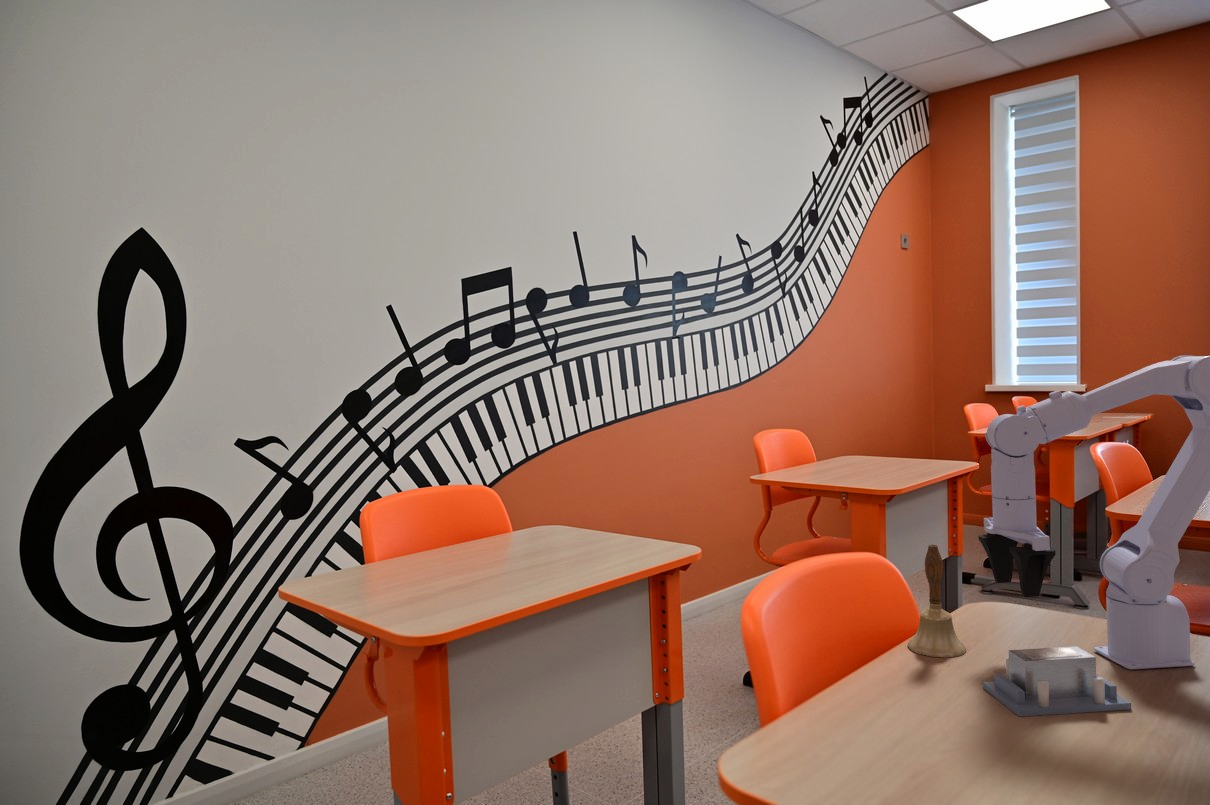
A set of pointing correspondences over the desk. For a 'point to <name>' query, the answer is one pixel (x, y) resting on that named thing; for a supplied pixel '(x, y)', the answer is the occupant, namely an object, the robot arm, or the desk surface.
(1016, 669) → the block
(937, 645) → the hand bell
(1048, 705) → the grey peg stand
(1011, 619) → the desk surface
